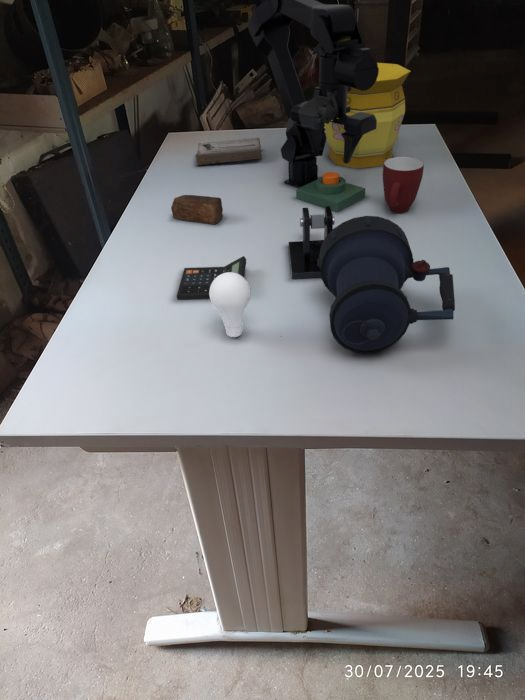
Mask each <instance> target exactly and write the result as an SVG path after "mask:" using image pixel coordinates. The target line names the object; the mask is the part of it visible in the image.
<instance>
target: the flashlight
mask: <svg viewBox="0 0 525 700" xmlns="http://www.w3.org/2000/svg"><path fill="white" fill-rule="evenodd" d="M323 240H324V241H323V243H322V245H321V248H320V254H319V259H318V261H317V264H318V267H319V268H320V270H321V278H320V279H321V280H322V282H323V285H324V287H325V288H326V290H328V291H329V292H330V293H331V294H332V295H333V296H334V297H335V298H334V300H333V302H332V304H331V305H330V310H329V324H330V325H329V326H330V331H331V334H332V336H333V339H334V340H335V341H336V342H337V343H338V344H339V345H340V346H341V347H342V348H344V349H346V350H347V351H350V352H354V353H358V354H359V353H360V354H372V353H373V354H374V353H377V352H381V351H384V350H386V349H388V348H390V347H392V346H393V345H395V344H396V343H397V342H398V341H400V340H401V339H402V338H403V336H404V335H405V334H406V332H407V330H408V328H409V326H410V325H413V324H414V323H417V322H418V321H437V320H438V321H440V320H441V321H443V320H444V321H445V320H454V312H455V310H456V300H455V288H454V287H455V286H454V275H453V274H452V273H451V270H450V267H449V266H445V267H435V268H431V265H430V264H429V262H427V260H425V259H421V260H416V261H415V260H414V256H413V252H412V248H411V245H410V242H409V239H408V238H407V235H406V233H405V231H404V230H403V229H402V228H401V226H399V224H397V223H396V222H394V221H392V220H391V219H388V218H385V217H382V216H379V215H378V216H377V215H364V216H358V217H357V216H356V217H353V218H350V219H348V220H346V221H343V222H342V223H340V224H338V225H337V226H335V227H333V230H332V231H331V232H330V233H329V234H328V235H327V236H326V238H325V239H324V238H323ZM435 275H438V279H439V295H440V298H441V302H442V304H441V308H442V309H441V310H424V311H418V310H417V309H415V308H412V307H411V305H410V302H409V300H408V297H407V296H406V295H405V293H404V291H403V290H402V288H403V286H404V284H405V283H406V282H407V280H408V279H411V278H412V279H413V280H414V281H416V282H424V281H425V280H426V277H427V276H435Z"/></svg>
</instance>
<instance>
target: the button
mask: <svg viewBox="0 0 525 700" xmlns="http://www.w3.org/2000/svg"><path fill="white" fill-rule="evenodd" d="M322 177H323V183H324V184H327V185H334V184H337V183H339V177H340V174H339V173H338V172H336V171H328V172H324V173H323V174H322Z"/></svg>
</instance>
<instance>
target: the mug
mask: <svg viewBox="0 0 525 700" xmlns="http://www.w3.org/2000/svg"><path fill="white" fill-rule="evenodd" d="M424 168H425V163H424V162H423V160H421V159H419V158H416V157H412V156H395V157H392V158H390V159H387V160H386V161H385V162H384V164H383V165H382V187H383V196H384V201H385V203H386V206H387V208H388V210H389V211H390V212H391V213H393V214H404V213H407V212H408V211H409V210H410V209H411V207H412V206H413V204H414V203H415V201H416V198H417V196H418V193H419V190H420V186H421V184H422V179H423V176H424V170H425V169H424Z"/></svg>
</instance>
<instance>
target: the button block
mask: <svg viewBox="0 0 525 700" xmlns="http://www.w3.org/2000/svg"><path fill="white" fill-rule="evenodd" d="M364 198H366V187H363V186H360V185H357V184H352V183H349V182H347V180H346V179H345V178H344V177H343V176H339V183H337V184H334V185H327V184H324V183H323V176H320V177H318V179H317V180H315V181H313V182H311V183H309V184H307V185H304V186H302V187H300V188H298V187H297V188H296V189H295V199H297V200H300V201H303V202H305V203H309V204H312V205H315V206H317V207H321V208H323V209H325V207H327V206H330V207H331V211H332V212H335V213H339V212H341V211H343V210H345V209H346V208H348V207H350V206H351V205H353V204H355V203H357V202H360V200H362V199H363V200H364Z"/></svg>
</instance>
